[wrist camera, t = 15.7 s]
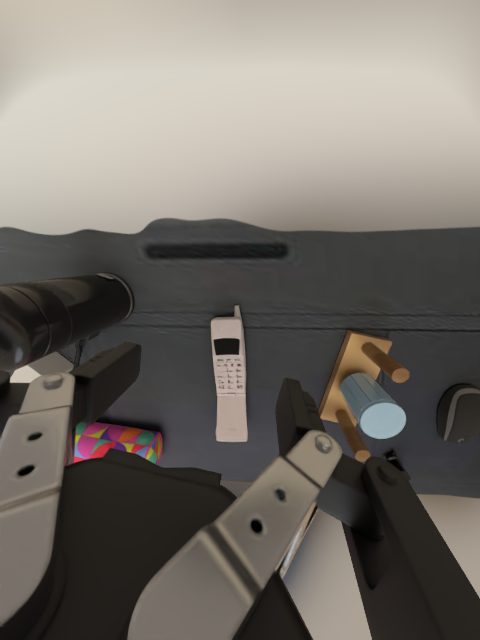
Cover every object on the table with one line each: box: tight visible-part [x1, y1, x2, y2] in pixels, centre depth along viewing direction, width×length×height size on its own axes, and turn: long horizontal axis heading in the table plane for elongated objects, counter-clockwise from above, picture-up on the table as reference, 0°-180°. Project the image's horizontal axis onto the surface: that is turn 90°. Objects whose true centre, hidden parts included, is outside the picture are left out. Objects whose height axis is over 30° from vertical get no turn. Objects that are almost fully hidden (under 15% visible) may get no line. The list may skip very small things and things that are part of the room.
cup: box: [340, 373, 406, 439], centre depth 34 cm, size 6×6×8 cm
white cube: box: [10, 352, 74, 383], centre depth 44 cm, size 6×6×6 cm
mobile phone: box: [211, 305, 248, 442], centre depth 40 cm, size 6×6×25 cm
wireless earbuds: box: [386, 451, 410, 481], centre depth 45 cm, size 5×7×3 cm, turn 133°
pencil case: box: [74, 422, 163, 465], centre depth 46 cm, size 22×9×9 cm, turn 88°
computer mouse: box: [437, 385, 480, 443], centre depth 40 cm, size 7×12×4 cm, turn 4°
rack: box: [318, 330, 409, 462], centre depth 36 cm, size 18×7×11 cm, turn 169°
